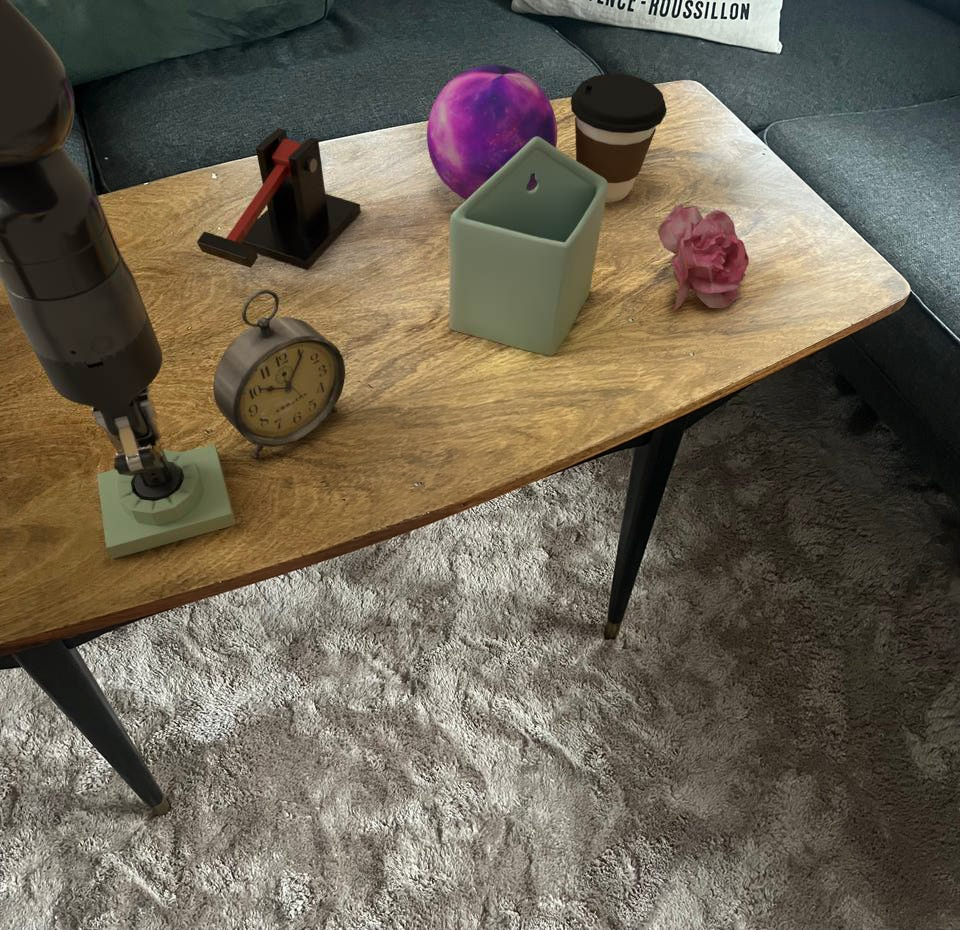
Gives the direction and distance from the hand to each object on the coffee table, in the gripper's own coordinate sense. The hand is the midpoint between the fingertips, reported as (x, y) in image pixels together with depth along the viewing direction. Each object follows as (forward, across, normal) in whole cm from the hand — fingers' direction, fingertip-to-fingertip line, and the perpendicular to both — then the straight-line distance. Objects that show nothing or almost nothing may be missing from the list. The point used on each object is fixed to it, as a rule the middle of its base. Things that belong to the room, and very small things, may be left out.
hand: (158, 478), depth 68 cm
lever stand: (+4, -34, +20) cm, 40 cm away
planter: (+4, -10, +38) cm, 40 cm away
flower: (+4, -10, +58) cm, 59 cm away
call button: (+2, 0, 0) cm, 2 cm away
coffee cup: (+4, -31, +57) cm, 65 cm away
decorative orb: (+4, -34, +43) cm, 55 cm away
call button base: (+4, 0, 0) cm, 4 cm away
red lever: (-3, -31, +16) cm, 34 cm away
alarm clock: (+4, -5, +12) cm, 13 cm away
